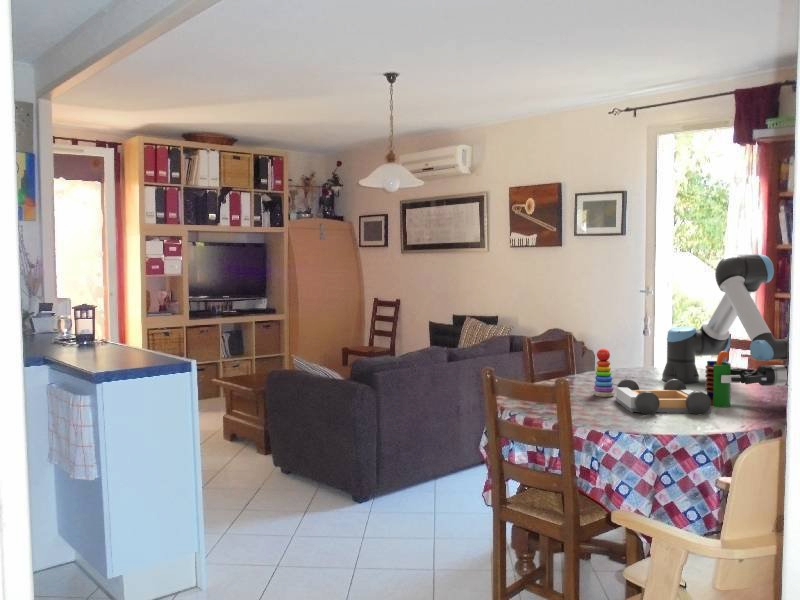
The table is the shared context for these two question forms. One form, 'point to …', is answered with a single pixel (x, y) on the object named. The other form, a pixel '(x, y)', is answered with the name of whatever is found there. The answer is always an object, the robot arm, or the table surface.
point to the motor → (718, 381)
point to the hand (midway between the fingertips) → (713, 375)
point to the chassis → (662, 398)
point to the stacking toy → (603, 375)
